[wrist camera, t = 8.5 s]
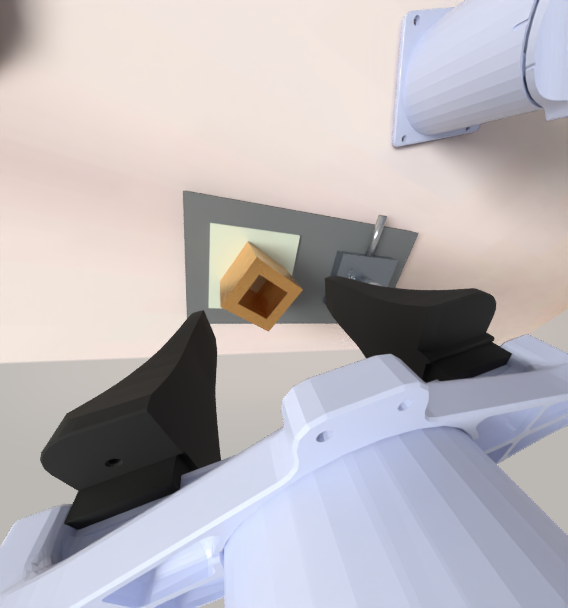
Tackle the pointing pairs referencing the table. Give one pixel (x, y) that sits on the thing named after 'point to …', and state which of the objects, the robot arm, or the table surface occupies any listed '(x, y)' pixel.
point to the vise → (366, 262)
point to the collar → (268, 299)
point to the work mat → (273, 251)
